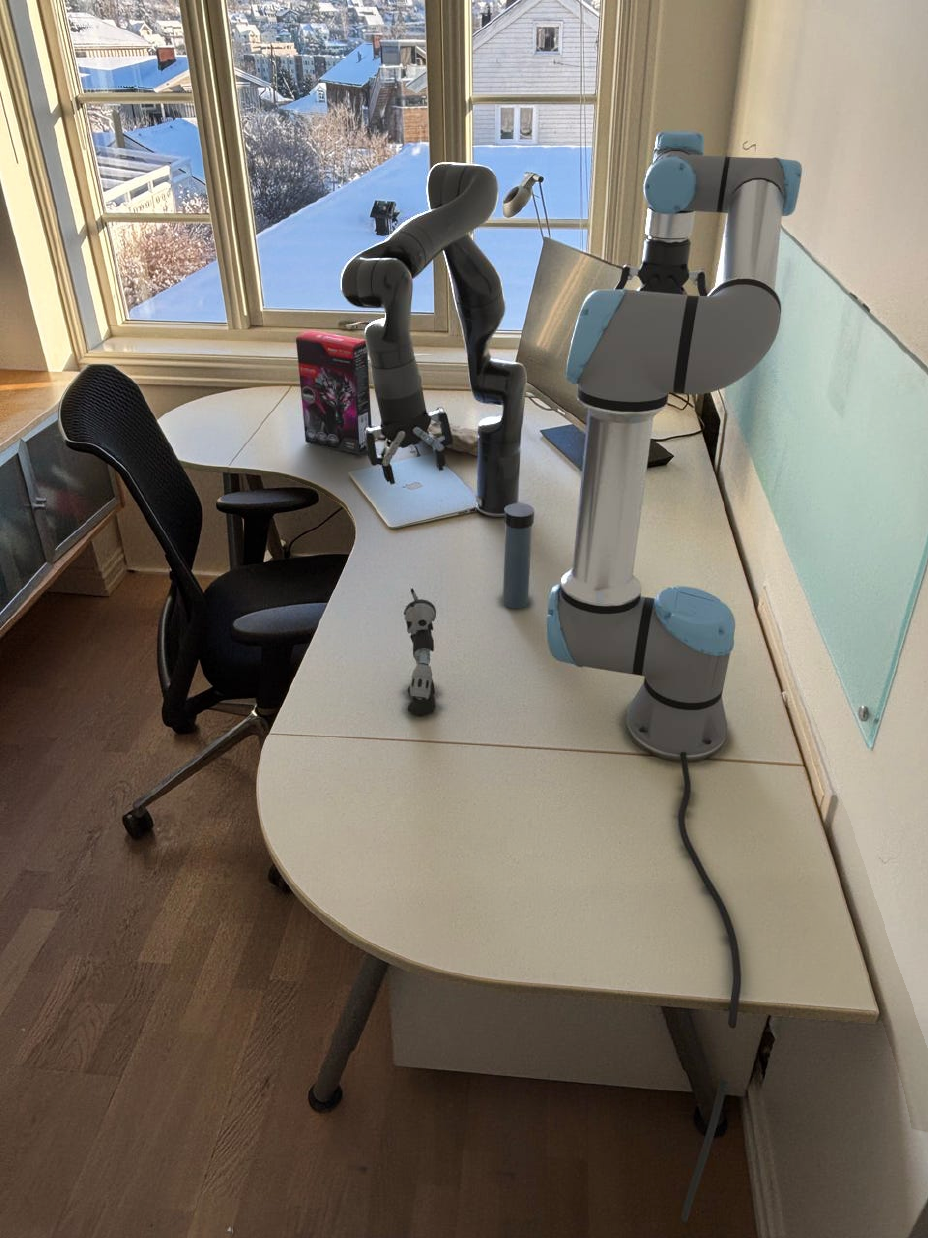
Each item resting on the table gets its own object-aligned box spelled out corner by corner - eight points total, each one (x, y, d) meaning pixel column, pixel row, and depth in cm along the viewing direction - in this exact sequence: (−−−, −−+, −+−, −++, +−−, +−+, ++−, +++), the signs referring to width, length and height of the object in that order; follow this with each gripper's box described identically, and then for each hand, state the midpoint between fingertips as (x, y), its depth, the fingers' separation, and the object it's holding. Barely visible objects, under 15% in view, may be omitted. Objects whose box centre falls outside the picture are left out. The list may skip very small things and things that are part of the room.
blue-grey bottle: (531, 598, 174) (537, 509, 164) (521, 611, 171) (526, 520, 160) (508, 592, 176) (512, 503, 166) (498, 604, 173) (501, 514, 162)
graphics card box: (303, 443, 234) (292, 335, 219) (319, 434, 239) (310, 328, 224) (359, 456, 228) (353, 346, 212) (374, 446, 233) (369, 338, 217)
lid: (538, 518, 165) (538, 506, 164) (526, 530, 161) (527, 519, 160) (511, 512, 167) (512, 500, 166) (499, 524, 163) (499, 512, 162)
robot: (438, 740, 141) (437, 632, 129) (406, 740, 140) (402, 633, 129) (435, 663, 157) (434, 561, 146) (406, 664, 157) (403, 562, 145)
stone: (393, 439, 229) (398, 415, 226) (412, 430, 242) (417, 408, 240) (473, 463, 225) (479, 439, 223) (488, 453, 238) (493, 431, 236)
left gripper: (434, 367, 150) (450, 455, 160) (350, 389, 148) (371, 476, 158) (446, 383, 145) (462, 474, 155) (359, 406, 143) (380, 496, 153)
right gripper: (746, 237, 151) (725, 364, 163) (595, 227, 157) (585, 351, 169) (746, 247, 145) (723, 378, 157) (589, 236, 151) (579, 364, 163)
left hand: (416, 475), depth 156 cm, fingers open, 8 cm apart
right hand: (652, 364), depth 163 cm, fingers open, 13 cm apart
